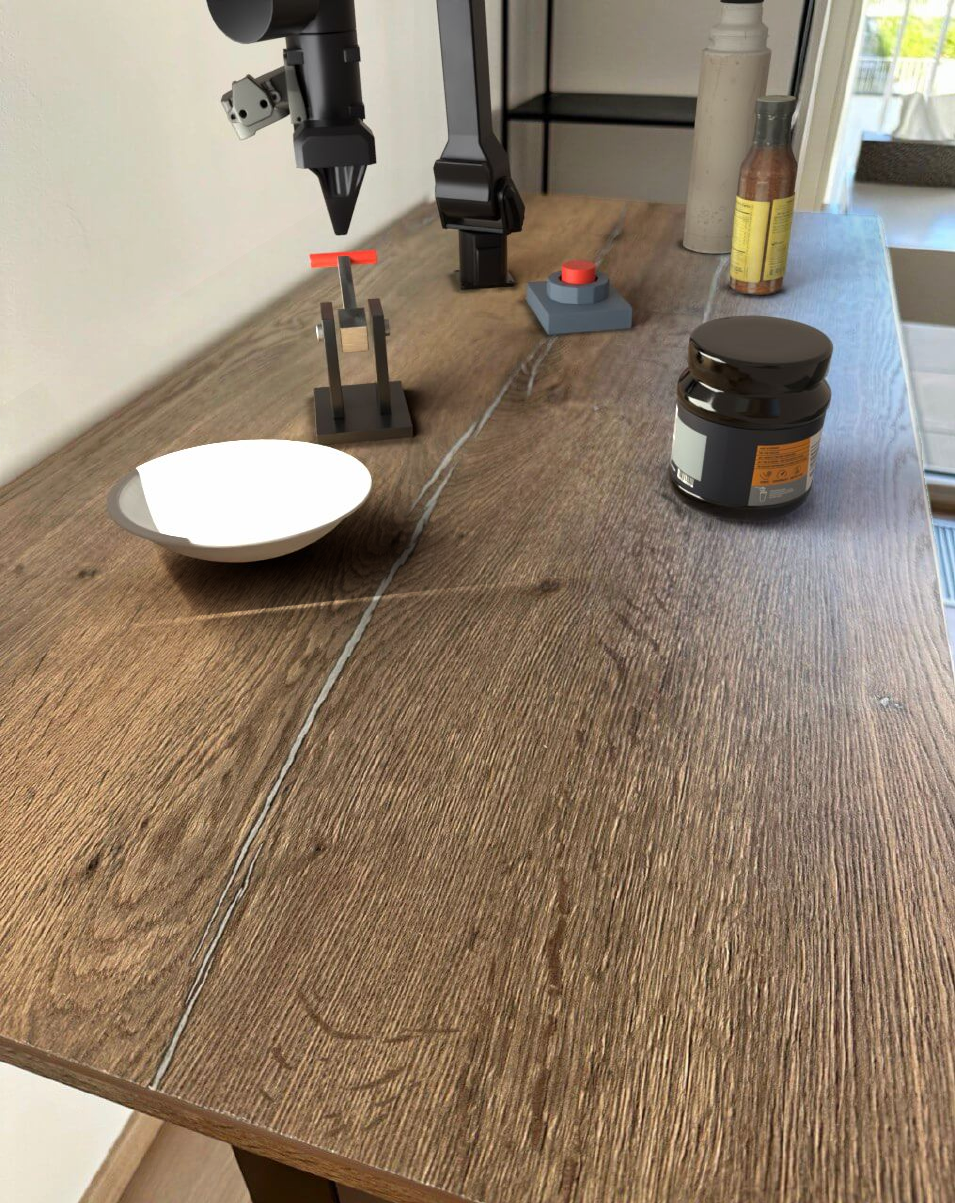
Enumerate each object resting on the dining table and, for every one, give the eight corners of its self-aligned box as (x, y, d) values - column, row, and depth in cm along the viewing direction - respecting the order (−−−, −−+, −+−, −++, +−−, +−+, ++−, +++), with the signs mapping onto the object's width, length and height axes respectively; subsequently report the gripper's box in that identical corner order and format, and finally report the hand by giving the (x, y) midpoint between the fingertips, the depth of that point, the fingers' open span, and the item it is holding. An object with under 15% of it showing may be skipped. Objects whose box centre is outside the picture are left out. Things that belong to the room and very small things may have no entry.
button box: (526, 301, 109) (526, 265, 106) (603, 295, 110) (605, 260, 107) (547, 335, 100) (548, 297, 97) (631, 328, 101) (634, 290, 99)
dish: (92, 610, 61) (71, 545, 58) (157, 499, 73) (143, 440, 70) (365, 609, 61) (358, 542, 58) (387, 497, 73) (382, 437, 70)
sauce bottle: (778, 280, 113) (808, 92, 101) (786, 298, 108) (819, 101, 96) (721, 280, 113) (745, 92, 102) (727, 297, 108) (753, 102, 97)
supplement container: (839, 511, 69) (876, 352, 62) (713, 541, 67) (737, 378, 60) (756, 450, 78) (780, 304, 71) (641, 474, 75) (654, 324, 68)
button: (558, 277, 104) (558, 261, 103) (590, 275, 104) (590, 258, 103) (565, 287, 101) (566, 271, 100) (599, 285, 101) (599, 268, 100)
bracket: (314, 399, 88) (301, 293, 82) (401, 392, 89) (394, 286, 83) (318, 448, 80) (303, 333, 74) (413, 439, 81) (406, 325, 75)
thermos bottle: (737, 236, 128) (770, -11, 112) (750, 253, 122) (787, -6, 106) (678, 237, 129) (702, -9, 112) (688, 254, 122) (715, -5, 106)
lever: (311, 269, 87) (308, 245, 85) (376, 265, 88) (375, 240, 86) (319, 355, 79) (316, 330, 77) (391, 349, 80) (390, 324, 78)
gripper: (223, 24, 82) (251, 214, 92) (210, 47, 67) (245, 271, 77) (352, 19, 84) (368, 207, 93) (367, 41, 69) (384, 262, 78)
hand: (340, 234), depth 85 cm, fingers closed
